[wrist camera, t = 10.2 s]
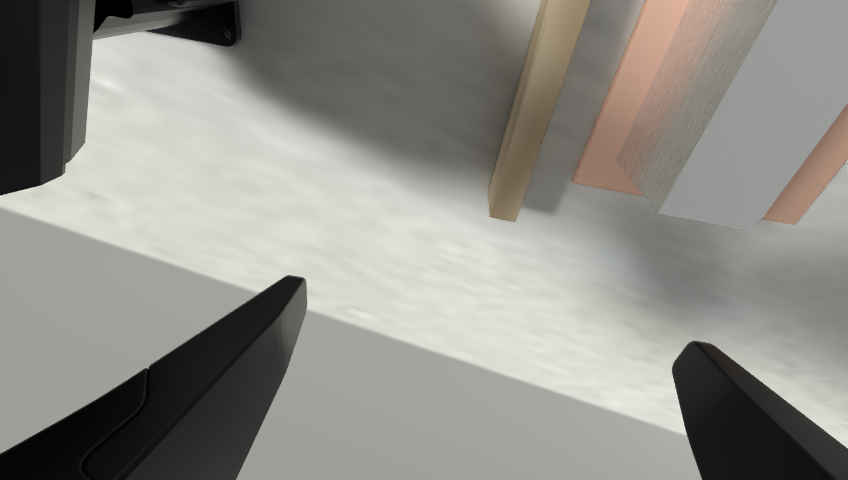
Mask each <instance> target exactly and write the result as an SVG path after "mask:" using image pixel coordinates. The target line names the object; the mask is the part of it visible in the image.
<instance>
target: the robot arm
mask: <svg viewBox="0 0 848 480" xmlns="http://www.w3.org/2000/svg"><path fill="white" fill-rule="evenodd" d="M225 27H226V28H228V30H229V31H230V33H231V38H230V39H229V38H227V37H226V35H225V33H224V28H225ZM140 31H148V32H153V33H159V34H164V35H169V36H174V37H179V38H185V39H190V40H195V41H200V42H205V43H211V44H216V45H221V46H226V47H228V46H234V45H236V44H238V43H239V42H240V40H241V26H240V14H239V3H238V0H0V195H4V194H8V193H12V192H16V191H20V190H24V189H28V188H32V187H36V186H40V185H43V184H45V183H47V182H49V181H51V180H53V179H55V178H57V177H60V176H62V175H63V174H64V173H65V165H66V163H68V162H69V161H71V159H72V158H73V157H74V156H75V154H76V153H77V152H78V151H79V149H80V148H81V147H82V146H83V144H84V143H85V134H86V121H87V108H88V94H89V81H90V68H91V55H92V41H93V40H95V39H101V38H106V37H112V36H117V35H123V34H129V33H134V32H140ZM306 309H307V286H306V280H305V279H304V278H303V277H297V276H291V275H288V276H285V277H284V278H282V279H281V280H279V281H278V282H276V283H274V284H273V285H271V286H270V287H268V288H267V289H265V290H264V291H262V292H261V293H259V294H258V295H256V296H255V297H253V298H252V299H250V300H249V301H247V302H246V303H244V304H243V305H241V306H239V307H238V308H237V309H235V310H233V311H232V312H230V313H229V314H227V315H226V316H224V317H223V318H221V319H220V320H218V321H217V322H215V323H214V324H212V325H210V326H209V327H207V328H206V329H204V330H203V331H201V332H200V333H198V334H197V335H195V336H194V337H192V338H191V339H189V340H188V341H186V342H185V343H183V344H182V345H180V346H178V347H177V348H175V349H174V350H172V351H171V352H169V353H168V354H166V355H165V356H163V357H162V358H160V359H159V360H157V361H156V362H154V363H153V364H151V365H150V366H149V369H148V368H145V369H143V370H142V371H140V372H139V373H137V374H136V375H134V376H132V377H131V378H129V379H128V380H126V381H125V382H123V383H122V384H120V385H118V386H117V387H115V388H114V389H112V390H110V391H109V392H107V393H106V394H104V395H102V396H101V397H99V398H98V399H96V400H94V401H93V402H91V403H89V404H88V405H86V406H84V407H82V408H81V409H79V410H77V411H75V412H74V413H72V414H70V415H69V416H67V417H65V418H63V419H62V420H60V421H58V422H57V423H55V424H53V425H51V426H49V427H47V428H46V429H44V430H42V431H40V432H39V433H37V434H35V435H33V436H31V437H29V438H28V439H26V440H24V441H23V442H21V443H19V444H17V445H15V446H13V447H12V448H10V449H8V450H6V451H5V452H3V453H1V454H0V480H236V478H237V476H238V474H239V472H240V470H241V468H242V465H243V463H244V461H245V459H246V457H247V455H248V453H249V451H250V448H251V446H252V444H253V442H254V440H255V438H256V436H257V433H258V431H259V429H260V427H261V425H262V423H263V421H264V419H265V416H266V414H267V412H268V410H269V408H270V406H271V403H272V401H273V399H274V397H275V395H276V393H277V390H278V389H279V386H280V384H281V382H282V380H283V377H284V375H285V373H286V370H287V368H288V365H289V362H290V359H291V356H292V353H293V349H294V347H295V344H296V341H297V338H298V335H299V332H300V329H301V326H302V323H303V320H304V317H305V314H306ZM672 374H673V378H674V383H675V387H676V391H677V395H678V400H679V404H680V408H681V412H682V417H683V421H684V425H685V429H686V433H687V436H688V439H689V443H690V446H691V449H692V452H693V455H694V458H695V460H696V463H697V466H698V469H699V472H700V475H701V478H702V480H848V448H846V447H845V446H844V445H842V444H841V443H840V442H838V441H837V440H836V439H835V438H833V437H832V436H831V435H829V434H828V433H827V432H825V431H824V430H823V429H822V428H820V427H819V426H818V425H816V424H815V423H814V422H813V421H811V420H810V419H809V418H807V417H806V416H805V415H803V414H802V413H801V412H800V411H798V410H797V409H796V408H794V407H793V406H792V405H791V404H789V403H788V402H787V401H785V400H784V399H783V398H781V397H780V396H779V395H778V394H776V393H775V392H774V391H772V390H771V389H770V388H769V387H767V386H766V385H765V384H763V383H762V382H761V381H759V380H758V379H757V378H756V377H754V376H753V375H752V374H750V373H749V372H748V371H746V370H745V369H744V368H743V367H741V366H740V365H739V364H737V363H736V362H735V361H734V360H732V359H731V358H730V357H728V356H727V355H726V354H724V353H723V352H722V351H721V350H719V349H718V348H717V347H715V346H714V345H712V344H710V343H705V342H699V341H692V342H690V343H688V344H687V346H686V347H685V348H684V350H683V351H682V352H681V354H680V355H679V356H678V358H677V359H676V360H675V362H674V363H673V367H672Z"/></svg>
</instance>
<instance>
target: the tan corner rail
mask: <svg viewBox="0 0 848 480" xmlns="http://www.w3.org/2000/svg"><path fill="white" fill-rule="evenodd" d="M590 1H591V0H542V1H541V5H540V8H539V12H538V15H537V19H536V23H535V26H534V30H533V33H532V37H531V40H530V44H529V47H528V51H527V55H526V58H525V62H524V65H523V69H522V72H521V76H520V79H519V83H518V87H517V90H516V94H515V97H514V101H513V104H512V108H511V112H510V115H509V119H508V122H507V126H506V129H505V133H504V136H503V140H502V144H501V147H500V151H499V154H498V158H497V161H496V165H495V168H494V172H493V176H492V179H491V183H490V186H489V190H488V202H489V214H490V217H492V218H497V219H503V220H508V221H513V222H515V221H516V219H517V216H518V213H519V210H520V207H521V204H522V201H523V198H524V195H525V192H526V189H527V186H528V183H529V180H530V177H531V174H532V172H533V169H534V166H535V163H536V160H537V157H538V154H539V151H540V148H541V145H542V142H543V139H544V136H545V133H546V130H547V127H548V125H549V122H550V119H551V116H552V113H553V110H554V107H555V104H556V101H557V98H558V95H559V92H560V89H561V86H562V83H563V80H564V78H565V75H566V72H567V69H568V66H569V63H570V60H571V57H572V54H573V51H574V48H575V45H576V42H577V39H578V36H579V33H580V31H581V28H582V25H583V22H584V19H585V16H586V13H587V10H588V7H589V4H590Z"/></svg>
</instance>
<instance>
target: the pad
mask: <svg viewBox="0 0 848 480" xmlns="http://www.w3.org/2000/svg"><path fill="white" fill-rule="evenodd" d="M688 2H689V0H645V3H644V5H643V8H642V10H641V12H640V15H639V17H638V20H637V22H636V25H635V27H634V30H633V32H632V35H631V37H630V39H629V42H628V44H627V47H626V49H625V52H624V54H623V57H622V59H621V62H620V64H619V67H618V69H617V71H616V74H615V76H614V79H613V81H612V84H611V86H610V89H609V91H608V94H607V96H606V99H605V101H604V103H603V106H602V108H601V111H600V113H599V116H598V118H597V121H596V123H595V126H594V128H593V130H592V133H591V135H590V138H589V140H588V143H587V145H586V148H585V150H584V153H583V155H582V158H581V160H580V162H579V165H578V167H577V170H576V172H575V175H574V177H573V180H572V181H573V183H578V184H583V185H588V186H593V187H599V188H604V189H609V190H614V191H620V192H625V193H630V194H635V195H641V196H644V195H643V194H642V193H641V192H640V190H639V189H638V188H637V186H636V185H635V184H634V183H633V181H632V180H631V179H630V177H629V176H628V175H627V174H626V172H625V171H624V170H623V168H622V167H621V166H620V165H619V163H618V162H617V161H616V159H617V157H618V155H619V153H620V151H621V148H622V146H623V144H624V142H625V140H626V137H627V135H628V133H629V131H630V129H631V127H632V124H633V122H634V120H635V118H636V116H637V113H638V111H639V109H640V107H641V105H642V103H643V100H644V98H645V96H646V94H647V92H648V89H649V87H650V85H651V83H652V81H653V79H654V76H655V74H656V72H657V70H658V68H659V65H660V63H661V61H662V59H663V57H664V55H665V52H666V50H667V48H668V46H669V44H670V41H671V39H672V37H673V35H674V33H675V31H676V28H677V26H678V24H679V22H680V20H681V17H682V15H683V13H684V11H685V9H686V6H687V4H688ZM847 159H848V103H847V105H846V106H845V107H844V109H843V110H842V111H841V113H840V114H839V115H838V117H837V118H836V119H835V121H834V122H833V123H832V125H831V126H830V127H829V129H828V130H827V131H826V133H825V134H824V136H823V137H822V138H821V140H820V141H819V142H818V144H817V145H816V146H815V148H814V149H813V150H812V152H811V153H810V154H809V156H808V157H807V158H806V160H805V161H804V162H803V164H802V165H801V167H800V168H799V169H798V171H797V172H796V173H795V175H794V176H793V177H792V179H791V180H790V181H789V183H788V184H787V185H786V187H785V188H784V189H783V191H782V192H781V193H780V195H779V196H778V197H777V199H776V200H775V202H774V203H773V204H772V206H771V207H770V208H769V210H768V211H767V212H766V214H765V215H764V216H763V218H762V219H767V220H772V221H777V222H782V223H788V224H793V225H795V224H796V223H797V221H798V220H799V219H800V218H801V216H802V215H803V214H804V213H805V211H806V210H807V209H808V208H809V207H810V205H811V204H812V203H813V202H814V200H815V199H816V198H817V197H818V195H819V194H820V193H821V192H822V190H823V189H824V188H825V187H826V185H827V184H828V183H829V182H830V181H831V179H832V178H833V177H834V176H835V174H836V173H837V172H838V171H839V169H840V168H841V167H842V166H843V164H844V163H845V162H846V161H847Z"/></svg>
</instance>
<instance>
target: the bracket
mask: <svg viewBox="0 0 848 480" xmlns="http://www.w3.org/2000/svg"><path fill="white" fill-rule="evenodd" d="M847 103H848V0H689V2H688V4H687V6H686V9H685V11H684V13H683V15H682V17H681V20H680V22H679V24H678V26H677V28H676V31H675V33H674V35H673V37H672V39H671V41H670V44H669V46H668V48H667V50H666V52H665V55H664V57H663V59H662V61H661V63H660V65H659V68H658V70H657V72H656V74H655V76H654V79H653V81H652V83H651V85H650V87H649V89H648V92H647V94H646V96H645V98H644V100H643V103H642V105H641V107H640V109H639V111H638V113H637V116H636V118H635V120H634V122H633V124H632V127H631V129H630V131H629V133H628V135H627V137H626V140H625V142H624V144H623V146H622V148H621V151H620V153H619V155H618V157H617V159H616V161H617V162H618V163H619V165H620V166H621V167H622V168H623V170H624V171H625V172H626V174H627V175H628V176H629V177H630V179H631V180H632V181H633V183H634V184H635V185H636V186H637V188H638V189H639V190H640V192H641V193H642V194H643V195H644V197H645V198H646V199H647V201H648V202H649V203H650V204H651V206H652V207H653V208H654V210H655V211H656V212H657V213H658V214H662V215H667V216H672V217H678V218H683V219H688V220H694V221H699V222H704V223H710V224H715V225H720V226H726V227H731V228H736V229H742V230H747V231H753V230H754V228H755V227H756V226H757V224H758V223H759V222H760V220H761V219H762V218H763V216H764V215H765V214H766V212H767V211H768V210H769V208H770V207H771V206H772V204H773V203H774V202H775V200H776V199H777V197H778V196H779V195H780V193H781V192H782V191H783V189H784V188H785V187H786V185H787V184H788V183H789V181H790V180H791V179H792V177H793V176H794V175H795V173H796V172H797V171H798V169H799V168H800V167H801V165H802V164H803V162H804V161H805V160H806V158H807V157H808V156H809V154H810V153H811V152H812V150H813V149H814V148H815V146H816V145H817V144H818V142H819V141H820V140H821V138H822V137H823V136H824V134H825V133H826V131H827V130H828V129H829V127H830V126H831V125H832V123H833V122H834V121H835V119H836V118H837V117H838V115H839V114H840V113H841V111H842V110H843V109H844V107H845V106H846V105H847Z"/></svg>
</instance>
